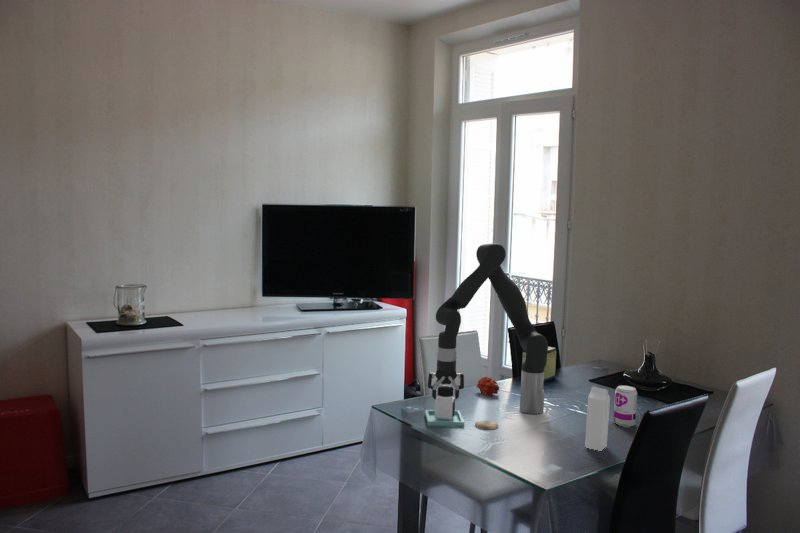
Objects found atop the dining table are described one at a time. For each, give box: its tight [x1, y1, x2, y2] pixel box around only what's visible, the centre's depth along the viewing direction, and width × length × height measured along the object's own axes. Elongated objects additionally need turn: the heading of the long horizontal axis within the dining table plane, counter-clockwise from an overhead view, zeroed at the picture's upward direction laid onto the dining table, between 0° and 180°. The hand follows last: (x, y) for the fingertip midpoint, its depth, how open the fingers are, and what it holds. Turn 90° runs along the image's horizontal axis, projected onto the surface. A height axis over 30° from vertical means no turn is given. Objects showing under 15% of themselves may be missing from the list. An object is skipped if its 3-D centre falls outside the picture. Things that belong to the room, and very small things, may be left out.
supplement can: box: [613, 384, 638, 427], centre depth 263 cm, size 8×8×15 cm
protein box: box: [521, 345, 557, 383], centre depth 326 cm, size 10×16×16 cm
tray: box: [424, 409, 465, 428], centre depth 262 cm, size 14×14×2 cm
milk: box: [584, 386, 611, 452], centre depth 237 cm, size 6×6×22 cm
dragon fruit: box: [476, 376, 500, 397], centre depth 298 cm, size 8×8×12 cm
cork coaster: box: [474, 420, 499, 431], centre depth 257 cm, size 9×9×1 cm
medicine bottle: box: [434, 384, 456, 420], centre depth 261 cm, size 7×7×12 cm
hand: (445, 398), depth 261 cm, fingers closed on medicine bottle, 8 cm apart
